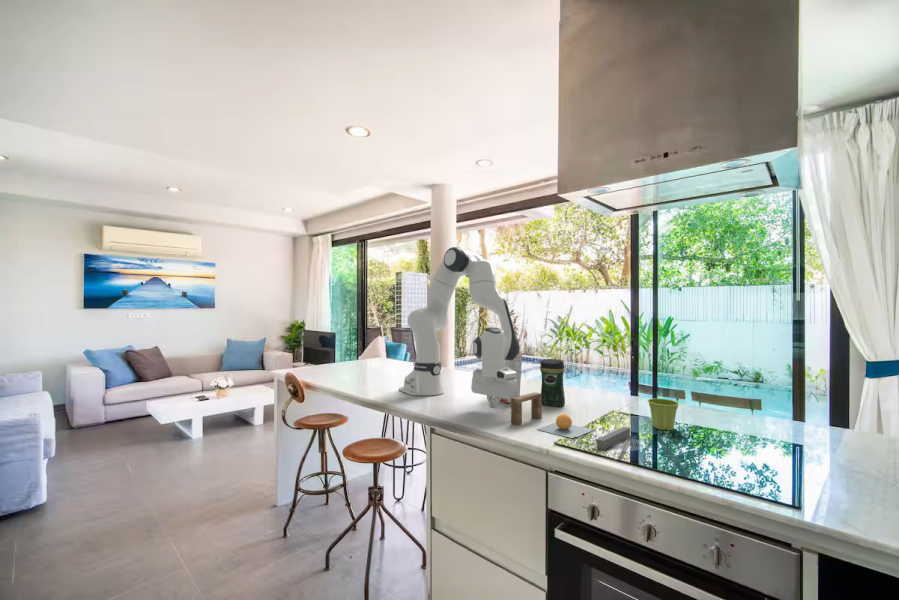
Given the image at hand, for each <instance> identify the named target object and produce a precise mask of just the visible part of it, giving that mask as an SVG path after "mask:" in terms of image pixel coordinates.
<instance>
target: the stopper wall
mask: <svg viewBox="0 0 899 600" xmlns="http://www.w3.org/2000/svg"><path fill="white" fill-rule="evenodd" d="M630 436H631V428H630V427H627V426H622V427H620V428H618V429H616V430H613V431H611V432H609V433H606V434H605V435H603V436H600V437H599V438H597V439H596V449H599V450H603V451H604V450H607V449H608V448H611V447H613V446H615V445H616V444H618V443H620V442H621V441H623V440H626V439H628V438H629V437H630Z"/></svg>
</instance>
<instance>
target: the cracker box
mask: <svg viewBox="0 0 899 600" xmlns="http://www.w3.org/2000/svg"><path fill="white" fill-rule="evenodd" d="M522 361H523V353H522V352H519V354H518V355H517V357H516V358H514V359H513V360H505V366H506V367H508V368H510V369H512V370H513V371H515V372H516V373H517V377H515V379H516V380H517V383H518V396H521V382H522V381H521V380H522V379H521V378H522V363H523V362H522ZM500 401H503V402H504V403H506V404H511V400H508V399H503V398H501V400H500Z"/></svg>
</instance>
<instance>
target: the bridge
mask: <svg viewBox="0 0 899 600" xmlns="http://www.w3.org/2000/svg"><path fill="white" fill-rule="evenodd" d="M528 401H531V402H530V403H531V407H530V408H531V415H530V416H531V418H532V417H533V418H534V419H537V420H539V419H542V417H543V416H542V411H543V409H542V408H543V407H542V406H543V404H542V394H541V392H534V391H533V392H531V393H527V394H522V395H520V396H518V397H514V398H511V403H510V424H511V423H512V424H511V425H514V424H515V425H514V426H518V425H519V426H521V424H523V409H522V408H523V402H528ZM533 418H532V419H533Z"/></svg>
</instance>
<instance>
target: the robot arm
mask: <svg viewBox="0 0 899 600" xmlns="http://www.w3.org/2000/svg"><path fill="white" fill-rule="evenodd" d="M463 276H465V277H466V278H468V283H469V285H468V287H469V295H470V298H471V300H472V301H473V303H474V304H476V305H477V306H478V307H480V308H483V309H486V310H489V311H491V312H493V313H494V314H496V316H497V317H498V319H499V322H500V328H499V327H493V326H492V327H491V326H490V327H487V328H484V329H483V331H482V334H481V335H478V336H476V338H475V339H474V340H473V342H472V344H473V345H472V350H473V351H472V353H473V355H474V356H475V358H477V359H478V360H482V361H481V369H479V368H475V369H474V370H473V372H472V378H471V386H470V388H471V392H472V393H473V394H479V395H484V396H486V399H487V402H488V403H489V404H488V405H489V408H490V409H494V410H498V409H499V404H500V402H501V401H502V400H501V398H503V399H508V400H511V398H514V397H518V383H517V380H516V379H515V377H517V373H516V372H515V371H513V370H512V369H510V368H508V367H506V366H505V360H513V359H514V358H516V357H517V355H518V354H519V353H521V352H520V351H521V348H520V342H519V340H518V337H517V335H516V331H515V328H514V325H513V321H512V316H511V313H510V308H509V306H508V303H507V301H506V298H505V297H503V296H502V295H501V294H500V292H499V291H498V288H497V281H496V276H495V271H494V267H493V264H492V262H491V261H490V260H488V259H487V258H486V257H484V256H483V255H482V254H479V253H477V252H475V251H472V250H468V249H465V248H462V247H458V246H453V247H450V248H448V249H447V250H446V252H445V253H444V256H443V259H442V261H441V262H440V264H439V266H438V267H437V269H436V271H435V272H434V274H433V278H432V280H431V282H430V285H429V287H428V290H427V293H426V295H427V299H428V300H427V305H426V307H421V308H417V309H415V310H412V311H411V312H410V313H409V314H408V316H407V326H408V327H409V329H410V330H411V331H412V334H413V337H414V341H415V347H416V350H415V351H416V352H415V353H416V356H415V358H416V361H415V362H413V363H412V366H413V370H412V371H411V372H410V373H408V374H407V375H406V376H405V377H404V379H403V380H404V381H403V386H401V387H398V391H400V392H403V393H405V394H408V395H410V396H436V395H437V396H438V395H442V394H443V393H444V390H445V389H444V387H443V376H442V372H441V370H442V362H441V344H440V342H439V341H438V339H437V335H436V332H439V331H441V330H443V329H444V328H446V326H447V325H448V322H449V317H448V309H449V305H450V301H451V299H452V296H453V294H454V291H455V289H456V286H457V284H458V281H459V279H460V278H461V277H463ZM493 399H494V400H495V401H494V400H493Z"/></svg>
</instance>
